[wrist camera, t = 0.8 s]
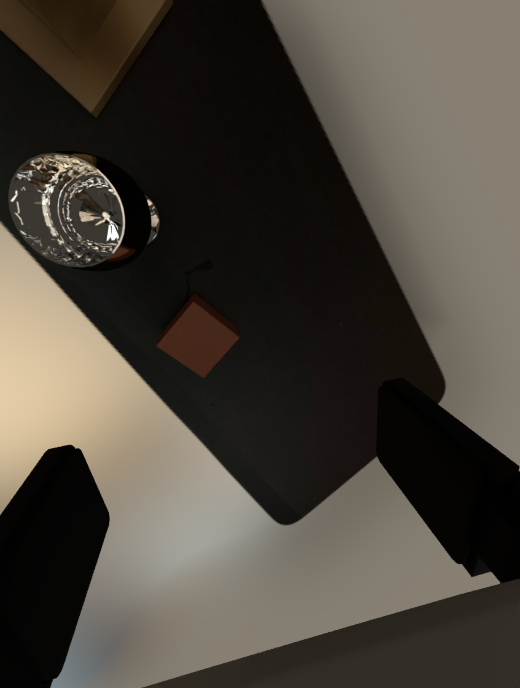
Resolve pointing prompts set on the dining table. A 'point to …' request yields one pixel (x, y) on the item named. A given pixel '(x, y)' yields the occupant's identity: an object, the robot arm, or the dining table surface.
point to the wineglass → (81, 211)
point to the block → (198, 336)
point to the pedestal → (83, 40)
